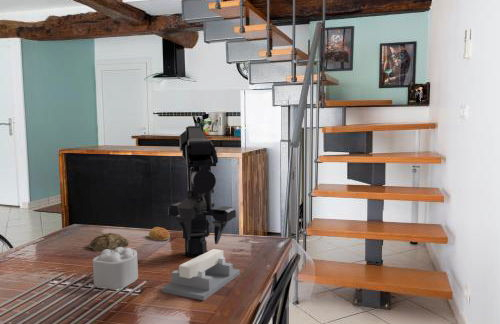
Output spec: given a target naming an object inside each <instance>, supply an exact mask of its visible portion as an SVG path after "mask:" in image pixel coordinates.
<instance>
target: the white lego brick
mask: <svg viewBox="0 0 500 324" xmlns="http://www.w3.org/2000/svg"><path fill="white" fill-rule="evenodd" d="M100 252H101V253H100V254H99V255H97V256H96V257H94V258H92V275H93V286H94V287H95V286H96V287H95V288H103V287H104V288H105V289H109V290H119V289H122V288H125V287H127V286H129V285H131V284H132V283H134V282H136V281H137V279H139V267H138V266H139V265H138V252H137V250H135V249H133V248H131V247H118V248H116V249H115V250H109V249H105V250H103V251H100Z"/></svg>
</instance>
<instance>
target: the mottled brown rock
mask: <svg viewBox="0 0 500 324" xmlns="http://www.w3.org/2000/svg"><path fill="white" fill-rule="evenodd" d="M127 245H129V240H128V239H127V238H125V237H124V236H122V235H121V234H119V233H113V232H112V233H111V232H105V233H101V234H100V235H98V236H97V235H96V237H94V238H93V239H92V240H91V241H90V242H89V245H88V248H89V249H92V250H93V251H94V252H96V251H100V252H102V251H103V250H105V249H109V250H114V249H116V248H118V247H123V248H127V247H128V246H127Z"/></svg>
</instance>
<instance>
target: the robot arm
mask: <svg viewBox="0 0 500 324" xmlns="http://www.w3.org/2000/svg"><path fill="white" fill-rule="evenodd" d="M212 142H213V141H211V139H209V138H207V134H206V133H205V132H204V130H203V126H200V125H187V126H186V127H185V131H183V132H182V133H181V134H180V135H179V151H180V152H181V156H182V158H183V159H184V160H185V163H186V168H187V169H186V170H187V171H186V172H187V175H186V176H187V193H186V195H187V196H186V198H185V199H183V200H182V201H181V202H175V203H173V204H170V205H169V207H168V208H167V209H168V210H167V211H168V213H167V214H168V216H171V218H172V219H174V220H176V221H177V222H178V223H179V225H180V227H181V234H182V235H181V236H182V239H184V252H182V256H187V257H193V258H196V257H198V256H200V255H202V254H204V253H206V252H208V251H209V250H208V249H207V247H208V245H207V240H206V238H209V236H210V228H211V223H212V225H213V226H214V244H215V245H218V244H219V241H220V239H221V237H222V235H223V232H224V229H225V227H226V226H227V223H228V222H230V221H232V219H235V218H236V217H237V214H236V213H237V212H236V210H235V208H234V206H220V207H217V208H215V203H213V201H212V194H214V193H215V189H214V188H215V186H216V181H217V180H216V177H215V174H214V173H213V172H212V168H211V167H217V164H218V163H219V160H218V152H217V148H216V146H215V144H213V143H212ZM207 216H208V217H209V216H211V217H212V218H213V221H212V222H211V223H210V221H209V220H208V218H207Z"/></svg>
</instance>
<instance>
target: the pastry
mask: <svg viewBox="0 0 500 324" xmlns="http://www.w3.org/2000/svg"><path fill="white" fill-rule="evenodd" d="M148 235H149V238H150V239H151V240H155V241H158V242H160V241H167V240H170V237H171V235H170V232H169V231H168V230H167V229H166V228H164V227H159V226H155V227H153V228H151V229H150V231H149V232H148Z"/></svg>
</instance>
